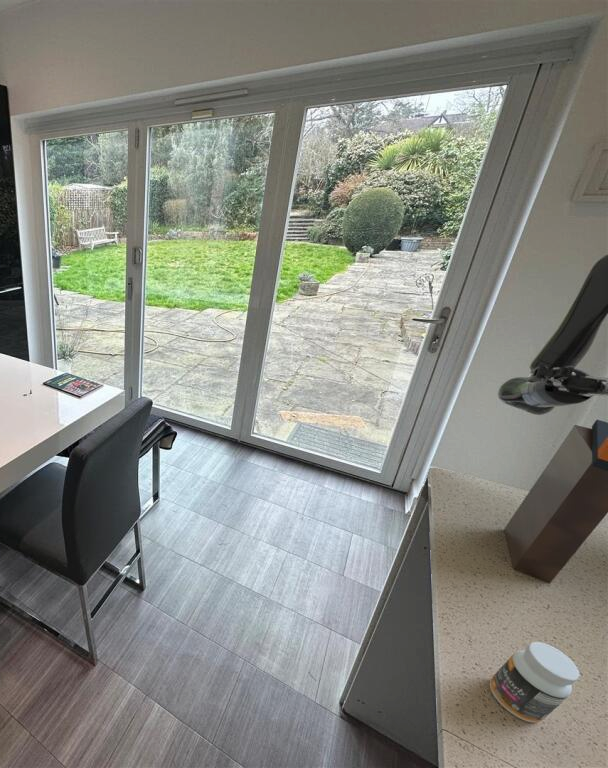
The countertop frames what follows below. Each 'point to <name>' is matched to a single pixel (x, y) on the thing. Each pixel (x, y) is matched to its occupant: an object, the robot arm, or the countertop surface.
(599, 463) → the back pad
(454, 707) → the countertop surface
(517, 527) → the walnut stand
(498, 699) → the pill bottle
